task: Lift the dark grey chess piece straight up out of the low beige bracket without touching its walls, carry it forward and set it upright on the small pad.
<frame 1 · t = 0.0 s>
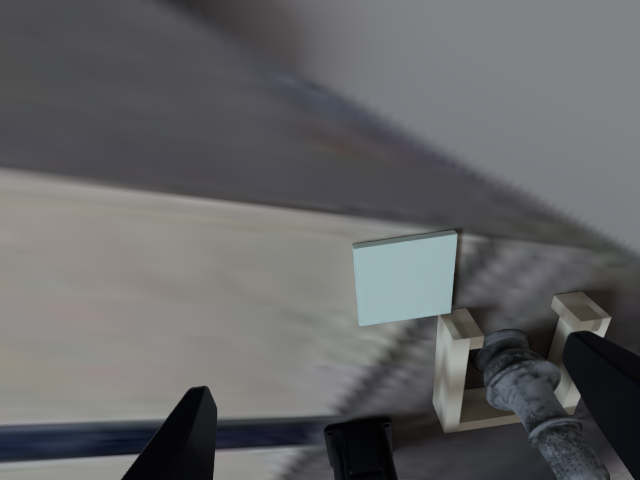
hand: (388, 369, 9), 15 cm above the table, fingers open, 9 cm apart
dark grey chess piece: (498, 350, 31), resting in beige bracket
beige bracket: (500, 352, 31), on the table
pad: (403, 278, 26), on the table
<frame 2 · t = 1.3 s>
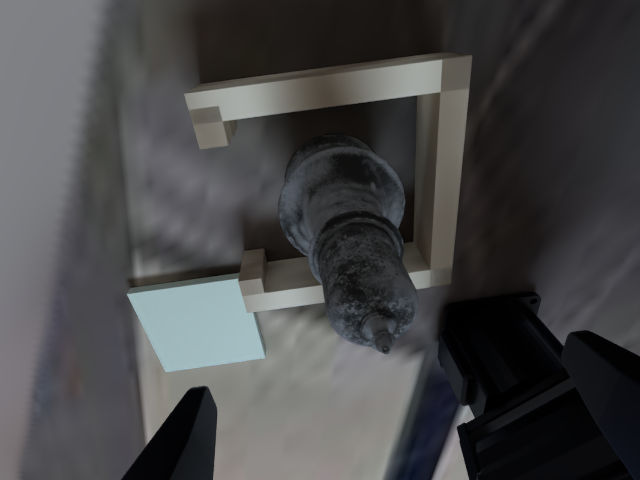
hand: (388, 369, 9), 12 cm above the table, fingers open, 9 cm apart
dark grey chess piece: (333, 181, 20), resting in beige bracket
beige bracket: (333, 182, 19), on the table
pad: (203, 322, 24), on the table
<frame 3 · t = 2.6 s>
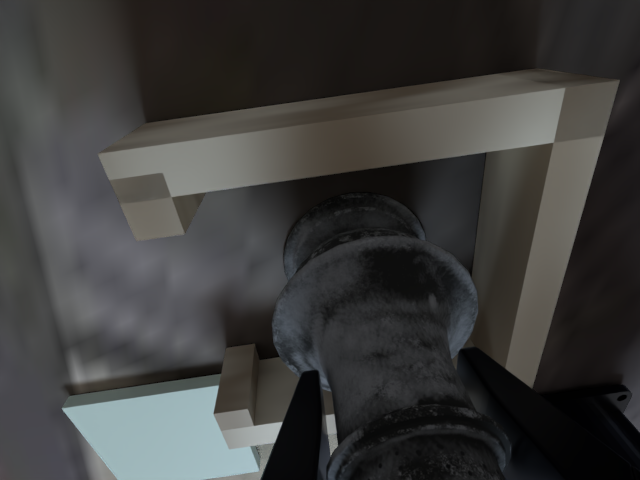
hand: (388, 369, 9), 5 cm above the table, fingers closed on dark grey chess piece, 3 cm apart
dark grey chess piece: (354, 256, 13), resting in beige bracket, touching gripper
beige bracket: (355, 259, 13), on the table
pad: (174, 430, 17), on the table
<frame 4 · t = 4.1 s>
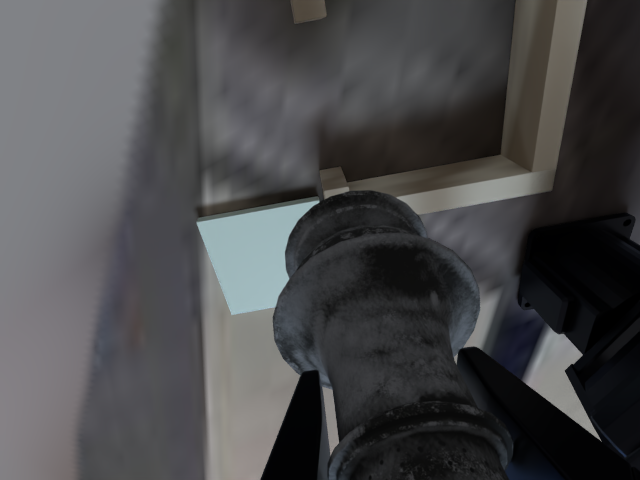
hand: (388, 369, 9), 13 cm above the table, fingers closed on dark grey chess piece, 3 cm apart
dark grey chess piece: (355, 254, 13), point 8 cm above the table, touching gripper
beige bracket: (420, 83, 18), on the table
pad: (272, 257, 22), on the table
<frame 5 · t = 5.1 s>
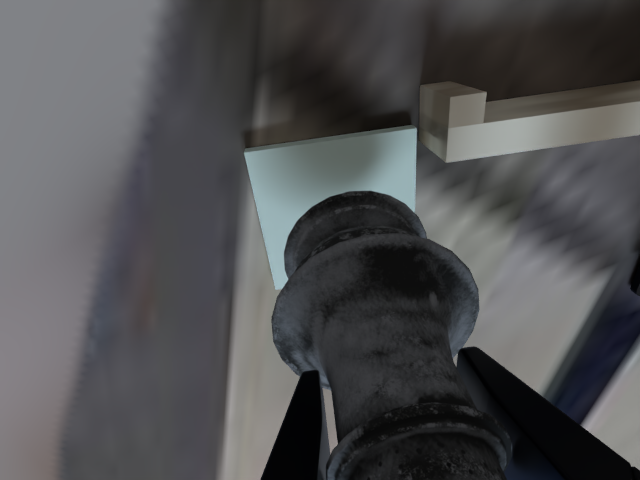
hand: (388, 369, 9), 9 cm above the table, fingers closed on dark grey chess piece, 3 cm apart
dark grey chess piece: (354, 254, 13), point 4 cm above the table, touching gripper
pad: (336, 211, 17), on the table
when the fingers open (6 cm above the table, at t = 5.8 s): dark grey chess piece stays where it is, resting on pad.
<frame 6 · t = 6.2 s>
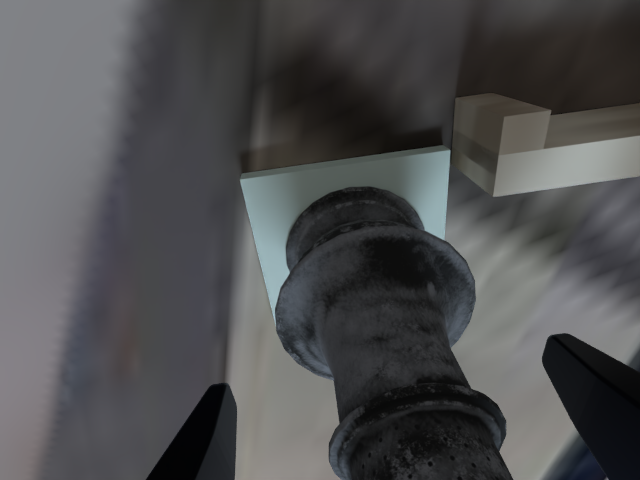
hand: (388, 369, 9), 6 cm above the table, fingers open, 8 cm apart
dark grey chess piece: (355, 249, 14), resting on pad
pad: (350, 245, 14), on the table
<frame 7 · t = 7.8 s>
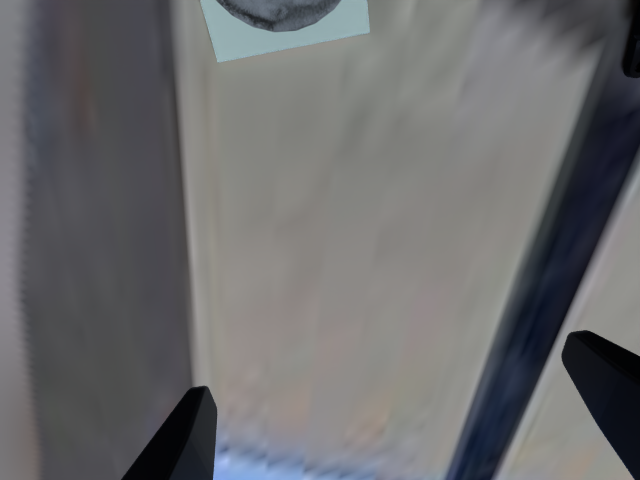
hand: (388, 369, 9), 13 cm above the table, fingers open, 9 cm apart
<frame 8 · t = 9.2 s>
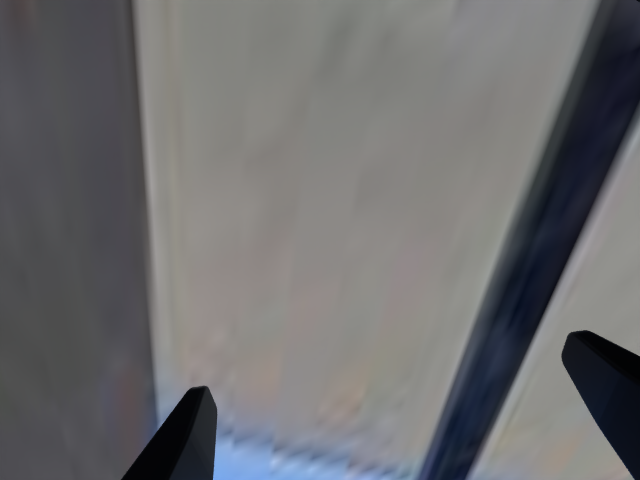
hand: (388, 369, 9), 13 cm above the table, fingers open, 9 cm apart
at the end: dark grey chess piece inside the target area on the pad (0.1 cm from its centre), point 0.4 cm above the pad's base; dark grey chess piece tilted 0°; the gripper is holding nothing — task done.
